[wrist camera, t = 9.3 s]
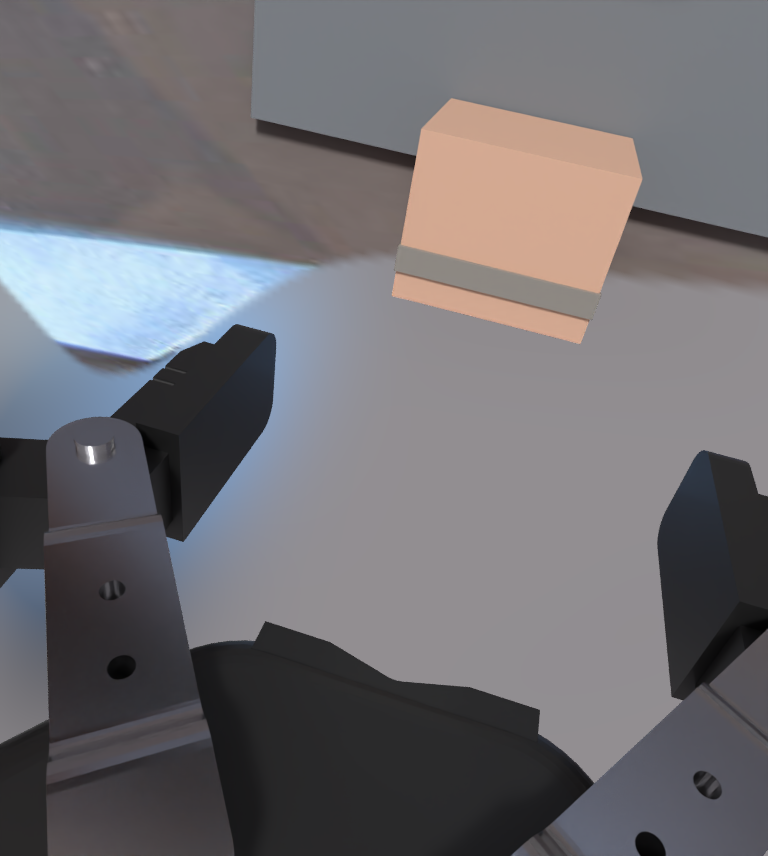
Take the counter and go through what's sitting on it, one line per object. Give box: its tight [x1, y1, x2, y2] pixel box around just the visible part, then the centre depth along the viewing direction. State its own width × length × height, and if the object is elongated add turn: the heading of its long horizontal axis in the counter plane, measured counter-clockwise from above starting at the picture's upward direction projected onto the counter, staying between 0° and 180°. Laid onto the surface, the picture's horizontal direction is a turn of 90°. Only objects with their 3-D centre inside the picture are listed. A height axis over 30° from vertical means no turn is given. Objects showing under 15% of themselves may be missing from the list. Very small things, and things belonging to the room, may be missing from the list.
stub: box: [392, 98, 642, 344], centre depth 22 cm, size 6×5×5 cm
